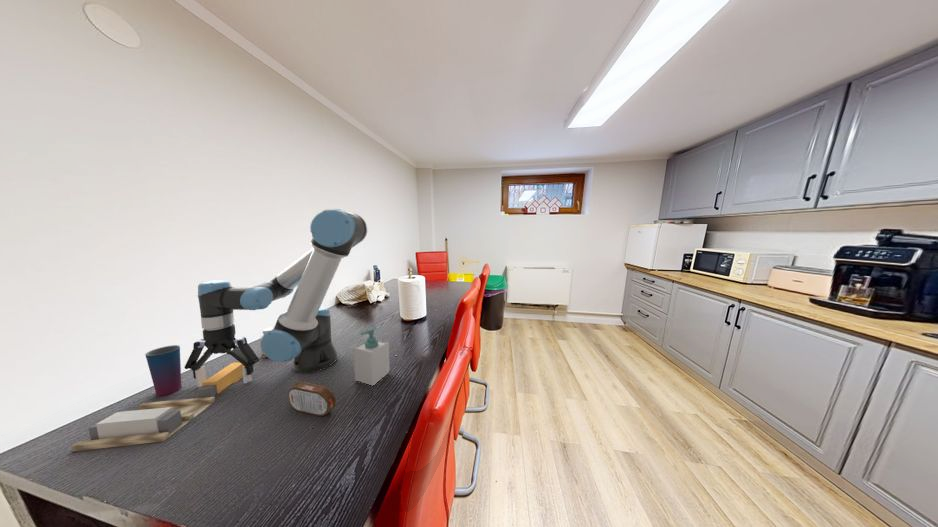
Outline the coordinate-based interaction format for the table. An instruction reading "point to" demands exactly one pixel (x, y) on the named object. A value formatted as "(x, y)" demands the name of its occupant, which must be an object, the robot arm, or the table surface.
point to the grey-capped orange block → (221, 380)
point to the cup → (165, 369)
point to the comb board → (188, 412)
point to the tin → (311, 398)
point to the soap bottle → (371, 359)
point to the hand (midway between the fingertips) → (225, 384)
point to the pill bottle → (263, 335)
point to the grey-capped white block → (136, 423)
